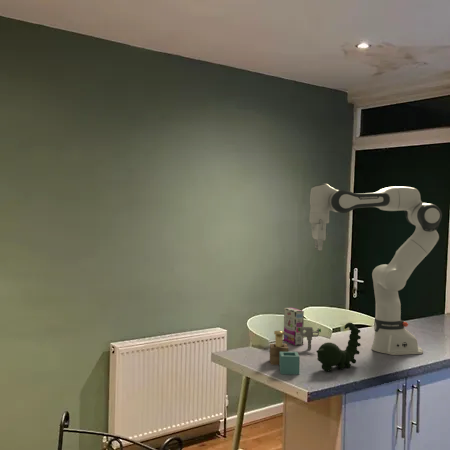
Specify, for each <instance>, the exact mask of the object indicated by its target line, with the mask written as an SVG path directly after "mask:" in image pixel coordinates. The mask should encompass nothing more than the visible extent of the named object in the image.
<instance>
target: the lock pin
mask: <svg viewBox="0 0 450 450" xmlns="http://www.w3.org/2000/svg"><path fill="white" fill-rule="evenodd" d="M274 335H275V336H274V337H275V339H274V340H275V342H274V344H275V347H283V344H284V343H283V341H284V330H274Z"/></svg>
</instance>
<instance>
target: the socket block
mask: <svg viewBox="0 0 450 450" xmlns="http://www.w3.org/2000/svg"><path fill="white" fill-rule="evenodd" d="M300 357H301V356H300V354H299V353H298V351H288V352H279V365H278V366H279V368H278V369H279V372H280V374H281V375H300V362H301V361H300Z"/></svg>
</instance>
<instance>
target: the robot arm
mask: <svg viewBox="0 0 450 450" xmlns="http://www.w3.org/2000/svg"><path fill="white" fill-rule="evenodd" d="M309 205H310V209H309V220H308V221H309V224H311V236H312V239H314V245H315V246H314V248H315V249H316V250H318V251H323V246H324V241H326V239H327V224H329V223H330V211H332V212H334V213H341V214H347V213H349V212H351V211H353V210H355V209H361V208H362V209H363V208H377V209H379V210H381V211H387V212H397V211H398V212H399V211H404V213H405V214H404V215H405V218H406V221H407V222H408V223H409V224H410V225H412V226H415V230H414V232H413V233H412V235H410V237H408V238H407V239H406V241H404V242H403V244H401V245H400V247H398V249H396V251H395V254H394V255H393V258H392V259H391V261H390V262H389V263H388V264H386V263H385V264H380V265H377V266H375V268H374V269H372V273H371V276H372V282H373V283H372V284H373V290H374V291H373V292H374V298H375V318H374V322H373V328H374V337H373V341H372V345H371V347H370V348H371V350H372V351H375V352H378V353H381V354H382V353H383V354H388V355H391V356H392V355H393V356H400V355H420V354H421V355H422V354H423V353H424V350H423V348H422V347H420V346H419V345H418V344H419V343H418V340H417V338H416V336H415V335H413V334H412V333H411V332H410V331H409V330H407V329H406V328H407V327H408V326H409V323H408V322H406V321H404V320H402V319H401V313H402V312H401V311H402V310H401V308H402V307H401V305H402V304H401V299H400V296H399V291H401V290H403V289H404V287H405V286H406V284H407V281H408V280H409V278H410V277H411V275H412V273H413V272H414V270H415V269H416V268H417V266H419V264H420V263H421V262H422V261H423V260H424V259H425V257H427V256H428V255H429V254H430V253H431V251H433V249H434V247H435V246H436V245H437V243H438V242H439V240H440V234H439V233H438V231H437V230H438V228H439V226H440V223H441V221H442V217H443V212H442V210H441V208H439V206H437V205H436V204H433V203H427V202H423V201H422V199H421V193H420V191H419V189H417V188H415V187H411V186H388V187H384V188H383V187H382V188H380V189H379V190H377V191H375V192H365V193H364V192H363V193H356V192H355V193H354V192H352V191H349V190H347V189H342V190H339V189H336V188H334V187H332V186H330V185H329V184H328V183H319V184H315V185H313V186H312V187H311V189H310V196H309Z"/></svg>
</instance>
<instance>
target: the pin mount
mask: <svg viewBox="0 0 450 450" xmlns="http://www.w3.org/2000/svg"><path fill="white" fill-rule="evenodd" d="M279 352H289V347H288V344H287V343H283V347H275V343H269V362H270V365H272V366H273V365H275V366H276V365H278V366H279Z"/></svg>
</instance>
